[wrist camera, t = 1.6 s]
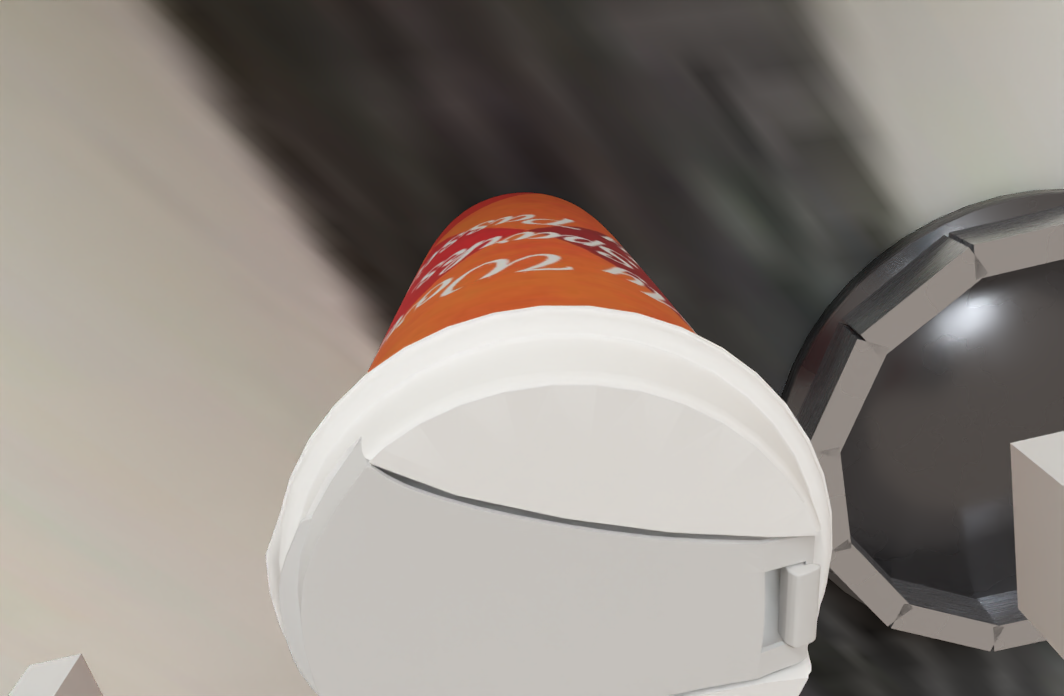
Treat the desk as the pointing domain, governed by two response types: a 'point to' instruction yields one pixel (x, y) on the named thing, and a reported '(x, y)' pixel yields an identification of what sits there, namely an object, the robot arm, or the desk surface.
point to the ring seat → (938, 414)
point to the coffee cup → (550, 490)
